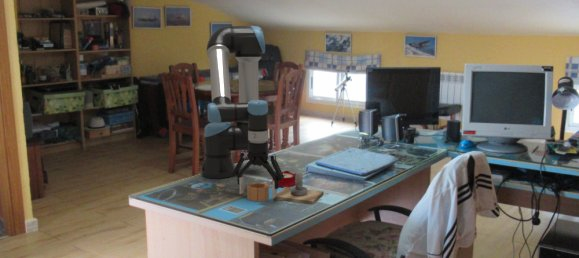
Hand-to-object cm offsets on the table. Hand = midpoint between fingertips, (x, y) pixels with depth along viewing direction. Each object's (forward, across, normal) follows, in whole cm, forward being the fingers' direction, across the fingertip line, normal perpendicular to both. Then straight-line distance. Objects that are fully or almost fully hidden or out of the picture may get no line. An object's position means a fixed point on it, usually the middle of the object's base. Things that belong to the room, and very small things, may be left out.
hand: (258, 195), depth 222 cm
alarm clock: (+1, +3, +24) cm, 24 cm away
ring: (+1, 0, 0) cm, 1 cm away
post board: (+1, +14, +8) cm, 16 cm away
